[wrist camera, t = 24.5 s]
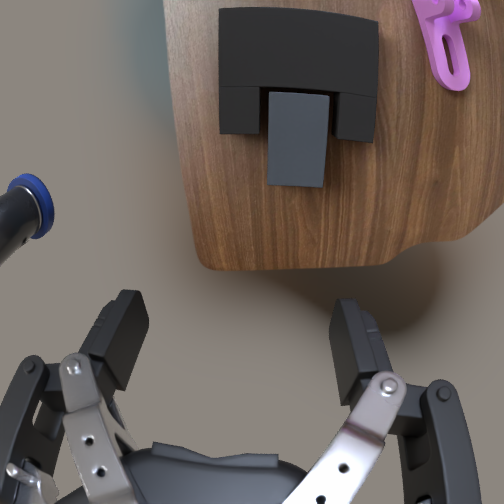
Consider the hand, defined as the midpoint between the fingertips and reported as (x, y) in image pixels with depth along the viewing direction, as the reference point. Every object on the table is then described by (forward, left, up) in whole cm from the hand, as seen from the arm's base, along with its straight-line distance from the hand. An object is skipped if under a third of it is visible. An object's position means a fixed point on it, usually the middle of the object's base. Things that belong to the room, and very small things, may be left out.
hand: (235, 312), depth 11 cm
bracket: (+22, +19, -24) cm, 38 cm away
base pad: (+4, +11, -24) cm, 26 cm away
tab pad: (+4, +3, -24) cm, 24 cm away
